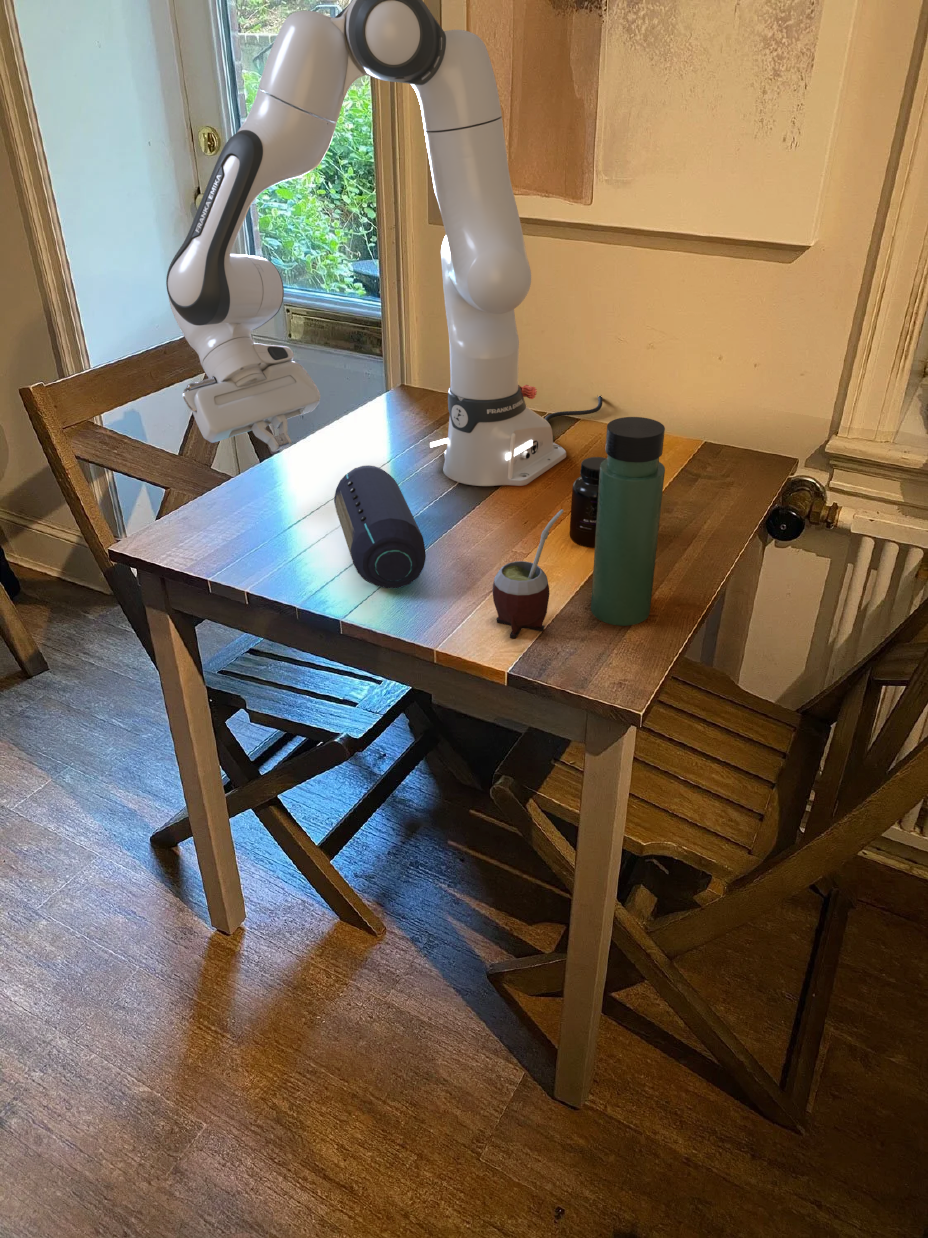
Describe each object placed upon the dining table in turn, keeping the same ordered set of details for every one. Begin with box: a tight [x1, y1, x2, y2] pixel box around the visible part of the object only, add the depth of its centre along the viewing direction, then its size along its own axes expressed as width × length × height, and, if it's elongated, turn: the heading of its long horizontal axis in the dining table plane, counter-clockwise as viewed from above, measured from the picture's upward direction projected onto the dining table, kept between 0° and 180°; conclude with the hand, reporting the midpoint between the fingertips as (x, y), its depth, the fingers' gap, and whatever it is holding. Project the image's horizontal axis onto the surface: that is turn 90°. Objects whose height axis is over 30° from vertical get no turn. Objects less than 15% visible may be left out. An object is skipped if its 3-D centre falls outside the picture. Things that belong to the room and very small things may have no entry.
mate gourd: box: [491, 508, 565, 640], centre depth 115 cm, size 8×8×15 cm
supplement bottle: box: [569, 456, 607, 549], centre depth 135 cm, size 7×7×12 cm
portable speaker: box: [333, 465, 427, 590], centre depth 133 cm, size 25×10×10 cm, turn 14°
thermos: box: [590, 416, 666, 627], centre depth 115 cm, size 8×8×25 cm
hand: (282, 447), depth 143 cm, fingers closed
